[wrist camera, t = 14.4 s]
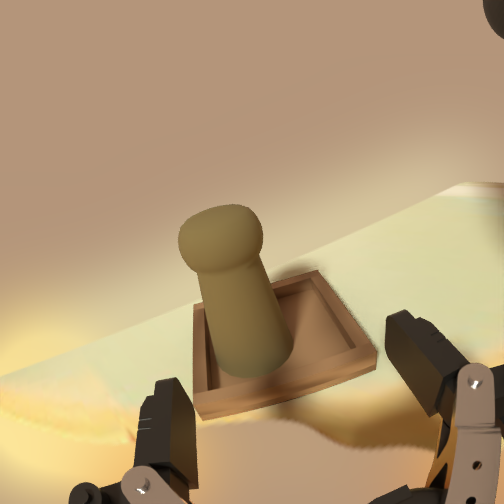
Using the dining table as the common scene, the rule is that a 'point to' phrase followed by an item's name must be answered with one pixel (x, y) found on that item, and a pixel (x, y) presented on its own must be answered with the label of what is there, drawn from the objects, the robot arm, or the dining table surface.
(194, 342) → the tray
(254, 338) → the olive pepper mill
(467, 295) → the dining table surface
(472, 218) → the dining table surface
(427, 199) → the dining table surface
